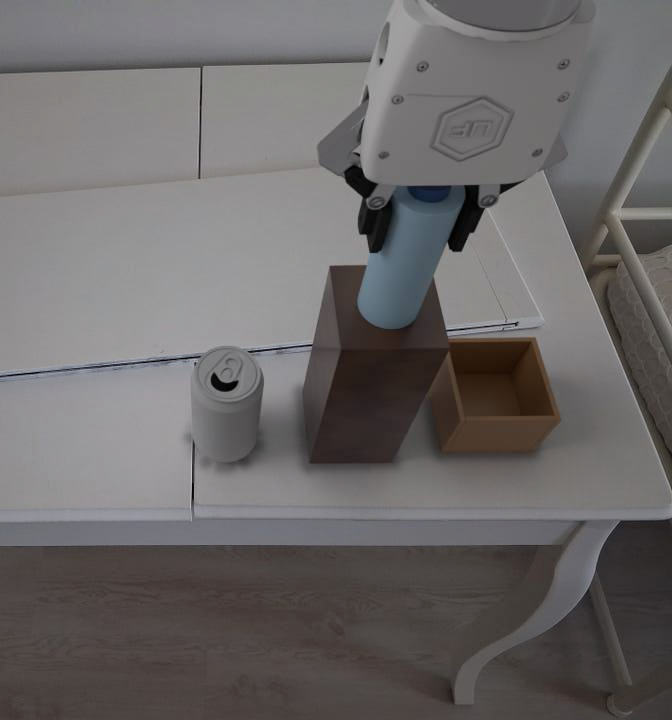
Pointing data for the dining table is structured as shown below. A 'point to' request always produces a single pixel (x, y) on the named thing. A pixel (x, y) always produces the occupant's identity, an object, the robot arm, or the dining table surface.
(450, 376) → the open wooden box
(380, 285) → the bottle
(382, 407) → the plinth
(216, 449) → the beverage can
